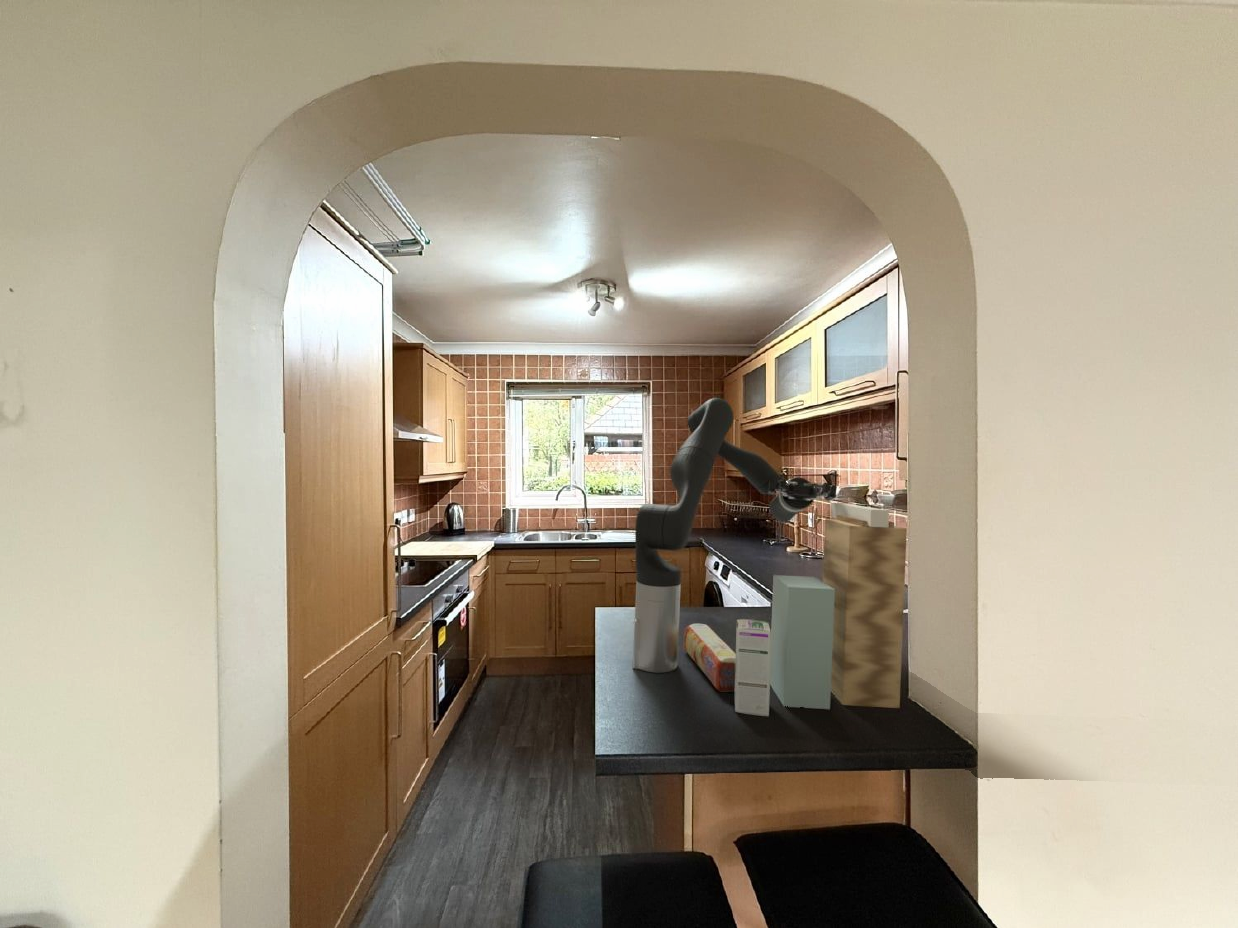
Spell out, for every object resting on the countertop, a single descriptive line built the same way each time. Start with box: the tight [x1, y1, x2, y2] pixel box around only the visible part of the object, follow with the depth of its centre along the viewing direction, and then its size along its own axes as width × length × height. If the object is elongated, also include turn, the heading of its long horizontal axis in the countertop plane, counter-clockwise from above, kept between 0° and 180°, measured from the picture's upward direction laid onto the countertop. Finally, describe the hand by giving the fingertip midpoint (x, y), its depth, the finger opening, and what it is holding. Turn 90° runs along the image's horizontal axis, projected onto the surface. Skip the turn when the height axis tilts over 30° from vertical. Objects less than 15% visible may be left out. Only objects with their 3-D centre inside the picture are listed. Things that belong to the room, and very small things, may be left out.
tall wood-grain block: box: [822, 515, 907, 709], centre depth 98 cm, size 10×12×33 cm
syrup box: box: [734, 618, 771, 717], centre depth 90 cm, size 6×6×14 cm
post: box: [770, 574, 835, 710], centre depth 95 cm, size 8×10×21 cm
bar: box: [829, 502, 890, 527], centre depth 102 cm, size 3×23×3 cm, turn 174°
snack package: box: [682, 623, 736, 693], centre depth 106 cm, size 21×7×7 cm, turn 9°
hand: (805, 485), depth 109 cm, fingers open, 8 cm apart
